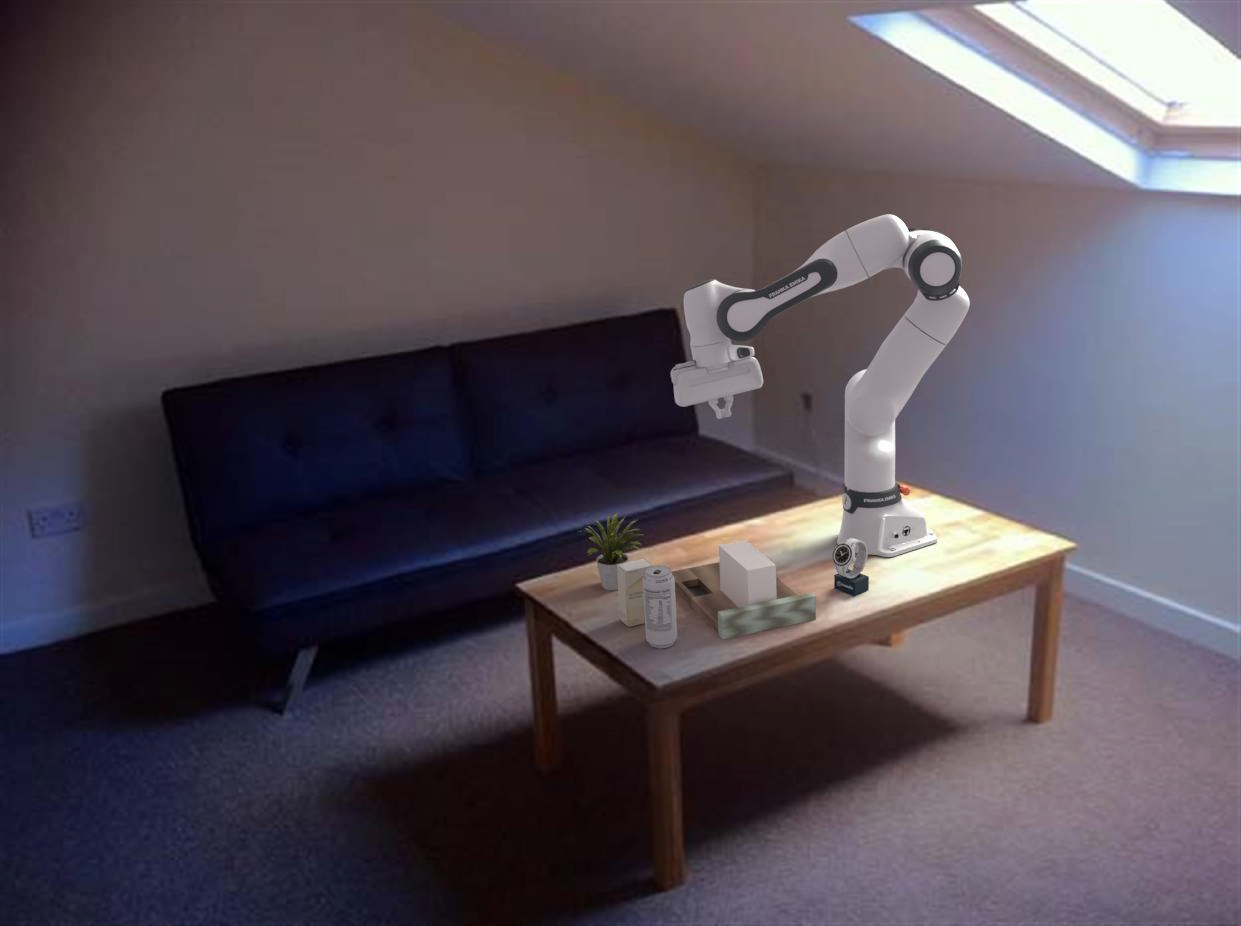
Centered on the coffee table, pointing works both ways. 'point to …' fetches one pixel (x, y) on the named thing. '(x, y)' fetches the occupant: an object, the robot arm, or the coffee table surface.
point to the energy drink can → (660, 606)
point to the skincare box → (632, 591)
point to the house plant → (611, 550)
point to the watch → (847, 578)
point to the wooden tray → (735, 621)
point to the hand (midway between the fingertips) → (724, 417)
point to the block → (746, 574)
